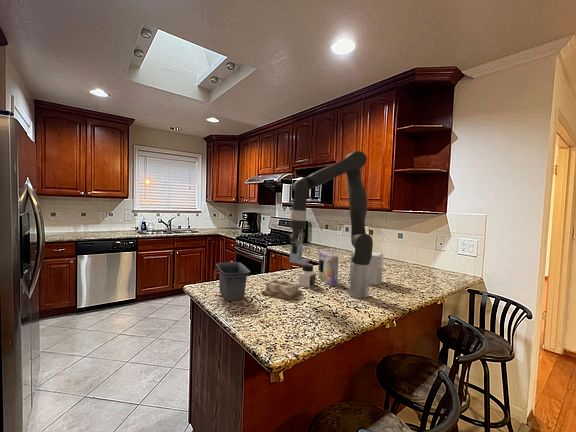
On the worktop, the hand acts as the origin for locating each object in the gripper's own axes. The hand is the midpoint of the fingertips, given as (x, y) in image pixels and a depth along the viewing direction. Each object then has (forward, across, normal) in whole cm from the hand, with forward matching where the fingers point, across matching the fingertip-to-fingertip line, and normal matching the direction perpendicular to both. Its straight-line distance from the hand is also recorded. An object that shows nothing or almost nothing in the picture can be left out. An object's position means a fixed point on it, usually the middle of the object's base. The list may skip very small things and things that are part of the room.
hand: (296, 253), depth 150 cm
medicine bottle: (+22, +21, +2) cm, 30 cm away
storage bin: (+23, -19, +25) cm, 39 cm away
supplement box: (+21, +53, -25) cm, 62 cm away
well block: (+22, -1, +6) cm, 23 cm away
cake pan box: (+22, +35, -6) cm, 41 cm away
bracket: (+5, 0, -2) cm, 5 cm away
